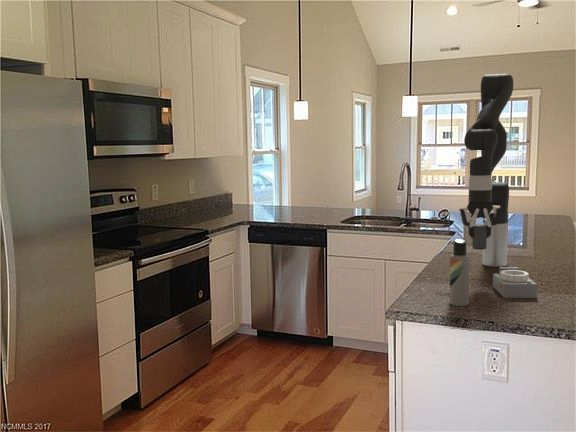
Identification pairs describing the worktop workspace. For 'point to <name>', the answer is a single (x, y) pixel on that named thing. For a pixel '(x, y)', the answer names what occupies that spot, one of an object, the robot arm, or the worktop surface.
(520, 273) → the camera body
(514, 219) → the worktop surface
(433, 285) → the worktop surface
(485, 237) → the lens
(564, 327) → the worktop surface
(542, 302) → the worktop surface
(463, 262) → the lotion bottle
